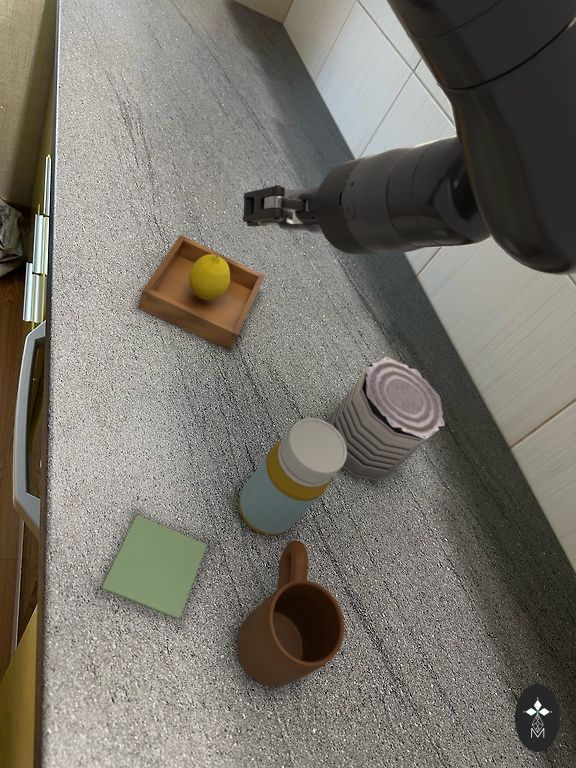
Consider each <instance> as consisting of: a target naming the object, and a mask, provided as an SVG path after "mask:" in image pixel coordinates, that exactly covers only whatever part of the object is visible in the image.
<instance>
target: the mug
mask: <svg viewBox="0 0 576 768" xmlns="http://www.w3.org/2000/svg"><path fill="white" fill-rule="evenodd" d="M278 562H279V563H278V570H277V571H278V572H277V589H276V590H274V591H273V592H272V593H271V594H269V595H268V596H267V597H266V598H265V599H264V600H262V602H260V603H259V604H258V605H257V606H256V607H255V608H254V609H253V610H252V611H251V612H250V613H249V614H247V616H246V617H245V619H244V620H243V622H242V624H241V625H240V628H239V631H238V633H237V635H238V636H237V643H236V645H237V653H238V654H237V655H238V658H239V660H240V662H241V665H242V667H243V670H245V672H246V673H247V674H248V675H249V676H250V677H251V678H252V679H253V680H254V681H256V682H258V683H259V684H262V685H264V686H268V687H275V688H276V687H284V686H286V685H289V684H292V683H293V682H296V681H297V680H300V679H302V678H304V677H306V676H308V675H309V674H312V673H314V672H316V671H318V670H319V669H321V668H323V667H324V666H325V665H327V664H328V663H329V662H330V661H332V659H334V657H335V656H336V655H337V654H338V653H339V651H340V649H341V647H342V645H343V642H344V637H345V618H344V615H343V611H342V609H341V606H340V605H339V603H338V601H337V600H336V598H335V597H334V595H333V594H332V593H331V592H330V591H329V590H328V589H327V588H325V586H323V585H321V584H319V583H317V582H315V581H311V580H308V573H309V554H308V550H307V547H306V545H305V544H304V543H303V542H302V541H300V540H290V541H289V542H288V543H287V544H285V546H284V548H283V550H282V552H281V555H280V558H279V561H278Z"/></svg>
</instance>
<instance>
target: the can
mask: <svg viewBox="0 0 576 768" xmlns="http://www.w3.org/2000/svg"><path fill="white" fill-rule="evenodd" d="M327 423H329V424H331V425H332V426H333V427H335V428H336V429H337V430H338V432H339V433H340V434H341V436H342V437H343V439H344V441H345V444H346V448H347V457H346V460H345V463H344V465H343V466H342V468H343V469H344V470H345V471H346V472H347V473H348V474H349V475H350V476H352V477H355V478H359V479H364V480H370V481H375V482H378V481H380V479H383V478H384V477H386V476H387V475H389V474H391V473H393V472H394V471H395V470H397V468H399V467H400V466H401V465H402V464H403V463H404V462H405V461H406V460H408V459H409V457H410V456H412V455H413V454H414V453H415V452H417V450H418V449H419V448H421V446H423V445H424V444H425V443H426V442H427V441H428V440H430V438H431V437H432V436H434V435H435V434H436V433H437V432H438V431H440V430H441V429H442V428H444V427H445V425H446V424H445V419H444V412H443V405H442V399H441V396H440V394H438V393H437V391H436V390H435V389H434V388H433V386H432V385H431V384H430V383H429V382H428V380H426V378H425V377H424V376H423V375H422V374H421V372H420V371H419V370H418V369H417V368H414V367H412V366H410V365H407V364H405V363H402V362H400V361H398V360H395V359H393V358H390V357H388V356H385V357H383V358H381V359H379V360H377V361H375V362H373V363H371V364H368V365H366V366H365V371H364V373H363V374H362V375H361V376H360V378H359V379H358V380H357V381H356V383H355V384H354V385H353V387H352V388H351V389H350V390H349V391H348V393H347V394H346V395H345V396H344V398H343V399H342V401H341V402H340V403H339V404H338V405H337V406H336V407H335V409H334V410H333V412H332V413H331V414H330V416H329V417H328V420H327Z"/></svg>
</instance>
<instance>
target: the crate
mask: <svg viewBox="0 0 576 768" xmlns="http://www.w3.org/2000/svg"><path fill="white" fill-rule="evenodd" d="M208 254H213V255H217V256H219V257H221V258H222V259H224V260H225V261H226V262H227V264H228V266H229V270H230V283H229V286H228V288H227V290H226V291H225V292H224V293H223V294H222V295H221V296H220V297H218V298H216V299H213V300H205V299H200V298H198V297H197V295H196V294H195V293H194V292H193V291H192V289H191V286H190V282H189V274H190V270H191V268H192V266H193V265H194V263H195V262H196V261H197V260H198V259H199V258H201V257H202V256H205V255H208ZM265 277H266V276H265V275H264V274H262V273H259V272H257V271H255V270H253V269H252V268H250V267H247V266H245V265H243V264H241V263H239V262H237V261H235V260H233V259H232V258H229V257H227V256H224V255H223V254H221V253H219V252H217V251H215V250H213V249H211V248H209V247H207V246H205V245H203V244H200V243H198V242H197V241H194V240H192V239H191V238H188V237H186V236H184V235H182V234H180V235H179V236H178V237H177V239H176V240H175V242H174V243H173V245H172V246H171V248H170V249H169V251H168V252H167V253H166V255H165V257H164V258H163V259H162V261H161V262H160V264H159V265H158V266H157V268H156V269H155V271H154V272H153V274H152V275H151V277H150V278H149V279H148V281H147V283H146V284H145V285H144V287H143V289H142V291H141V295H140V299H139V301H138V305H137V309H139V310H141V311H143V312H146V313H148V314H150V315H152V316H154V317H157V318H158V319H160V320H163V321H165V322H168V323H169V324H171V325H173V326H176V327H177V328H180V329H182V330H184V331H186V332H189V333H190V334H193V335H195V336H197V337H199V338H200V339H203V340H206V341H207V342H210V343H212V344H214V345H215V346H218V347H220V348H223V349H225V350H227V351H228V352H231V351H232V349H233V348H234V347H233V346H234V344H235V342H236V340H237V338H238V336H239V334H240V332H241V329H242V328H243V325H244V323H245V321H246V318H247V317H248V315H249V312H250V310H251V308H252V305H253V303H254V301H255V299H256V296H257V294H258V292H259V290H260V288H261V286H262V283H263V281H264V279H265Z"/></svg>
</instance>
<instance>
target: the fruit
mask: <svg viewBox="0 0 576 768" xmlns="http://www.w3.org/2000/svg"><path fill="white" fill-rule="evenodd" d="M189 282H190V286H191V289H192V291H193V292H194V293H195V294H196V295H197V297H198V298H200V299H205V300H213V299H216V298H218V297H220V296H221V295H222V294H223V293H224V292H225V291H226V290H227V288H228V286H229V283H230V270H229V266H228V264H227V262H226V261H225V260H224V259H222V258H221V257H219V256H217V255H213V254H208V255H205V256H202V257H201V258H199V259H198V260H197V261H196V262H195V263H194V265H193V266H192V268H191V270H190V274H189Z"/></svg>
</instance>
